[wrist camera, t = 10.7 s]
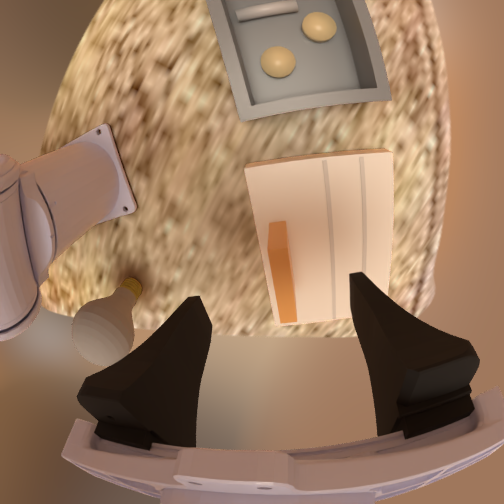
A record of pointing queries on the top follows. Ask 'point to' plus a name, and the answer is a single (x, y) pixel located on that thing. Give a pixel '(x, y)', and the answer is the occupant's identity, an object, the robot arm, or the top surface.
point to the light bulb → (107, 325)
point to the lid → (322, 229)
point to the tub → (298, 54)
